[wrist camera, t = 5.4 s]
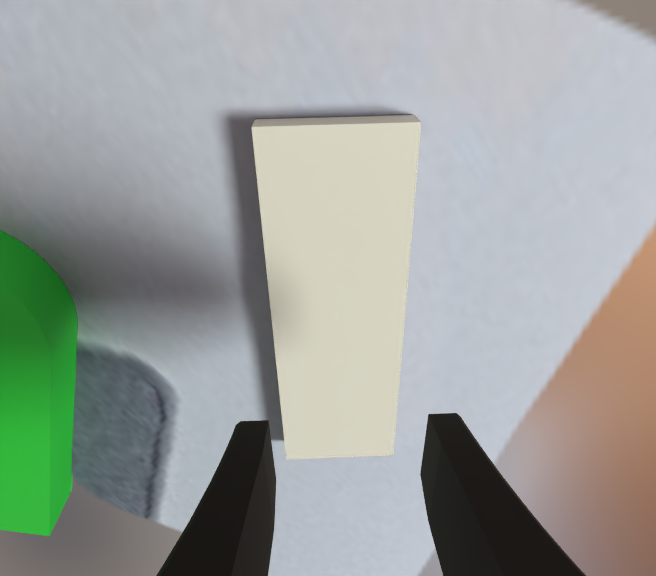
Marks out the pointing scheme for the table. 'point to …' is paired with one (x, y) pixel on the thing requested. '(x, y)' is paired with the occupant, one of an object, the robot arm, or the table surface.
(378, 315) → the plate
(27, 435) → the mechanical part
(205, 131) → the table surface
